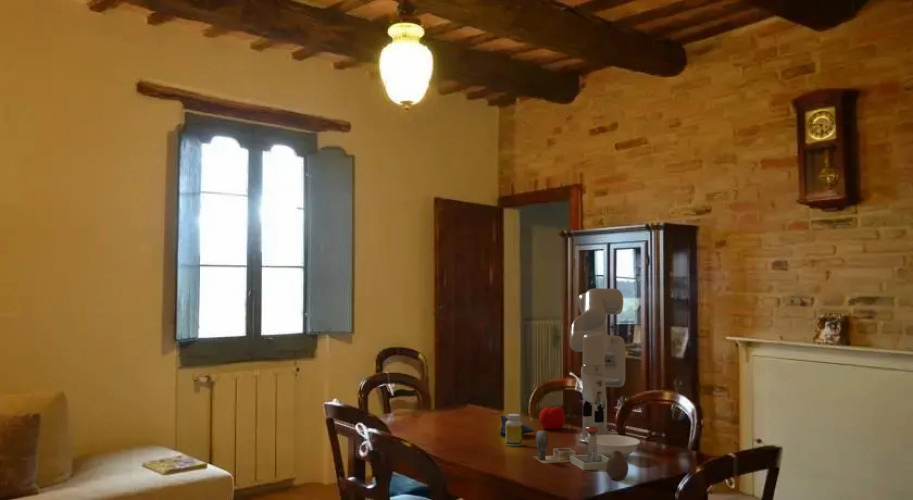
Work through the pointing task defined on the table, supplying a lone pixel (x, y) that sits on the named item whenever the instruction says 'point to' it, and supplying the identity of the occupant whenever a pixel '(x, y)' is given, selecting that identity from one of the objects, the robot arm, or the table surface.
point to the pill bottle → (513, 430)
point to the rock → (503, 429)
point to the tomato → (552, 417)
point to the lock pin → (592, 443)
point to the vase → (617, 466)
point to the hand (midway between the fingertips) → (593, 419)
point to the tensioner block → (558, 453)
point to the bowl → (615, 444)
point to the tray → (580, 460)
